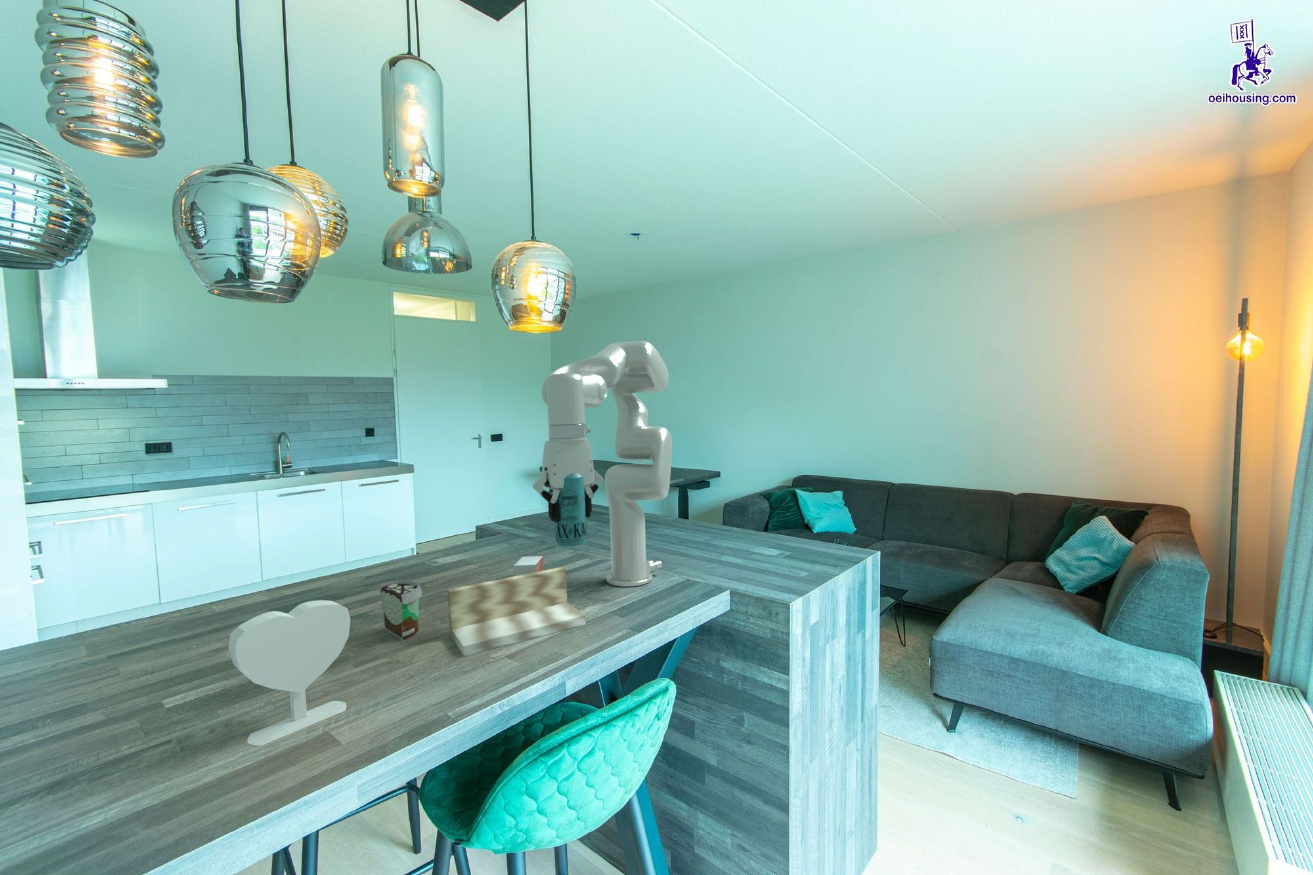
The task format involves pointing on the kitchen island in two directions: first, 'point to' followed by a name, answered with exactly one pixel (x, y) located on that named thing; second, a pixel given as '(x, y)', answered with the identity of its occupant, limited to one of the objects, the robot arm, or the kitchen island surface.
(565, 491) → the beverage bottle
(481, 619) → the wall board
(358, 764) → the kitchen island surface
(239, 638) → the heart sculpture
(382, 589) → the food container
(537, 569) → the small box
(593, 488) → the robot arm
